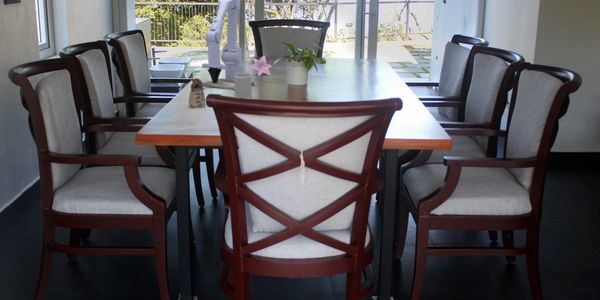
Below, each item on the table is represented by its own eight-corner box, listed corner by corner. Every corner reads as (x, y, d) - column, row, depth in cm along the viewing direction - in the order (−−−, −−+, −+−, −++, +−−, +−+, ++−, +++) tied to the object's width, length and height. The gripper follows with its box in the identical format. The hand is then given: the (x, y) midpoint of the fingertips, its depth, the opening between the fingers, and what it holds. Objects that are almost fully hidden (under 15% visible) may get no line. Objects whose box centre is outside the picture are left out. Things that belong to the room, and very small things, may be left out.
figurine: (209, 105, 297) (208, 77, 294) (196, 108, 292) (195, 79, 289) (198, 104, 302) (197, 76, 299) (185, 106, 297) (184, 78, 294)
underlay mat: (219, 82, 361) (219, 81, 360) (255, 85, 348) (255, 85, 348) (200, 86, 349) (199, 85, 349) (235, 90, 336) (235, 89, 336)
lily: (246, 77, 382) (251, 63, 376) (249, 66, 391) (253, 52, 385) (267, 84, 383) (272, 69, 377) (269, 73, 393) (274, 58, 387)
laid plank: (220, 81, 360) (220, 78, 360) (254, 85, 348) (254, 82, 348) (212, 83, 355) (212, 80, 355) (246, 86, 343) (245, 83, 342)
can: (242, 97, 316) (241, 71, 313) (255, 99, 312) (254, 72, 309) (231, 100, 310) (230, 73, 307) (244, 101, 306) (243, 74, 303)
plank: (211, 83, 354) (210, 80, 354) (244, 87, 342) (244, 84, 342) (201, 85, 349) (201, 82, 348) (235, 89, 337) (235, 86, 336)
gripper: (197, 55, 344) (198, 83, 347) (219, 57, 336) (220, 85, 339) (207, 54, 349) (208, 81, 353) (229, 55, 341) (230, 83, 345)
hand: (215, 83), depth 346 cm, fingers closed, pressing on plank
